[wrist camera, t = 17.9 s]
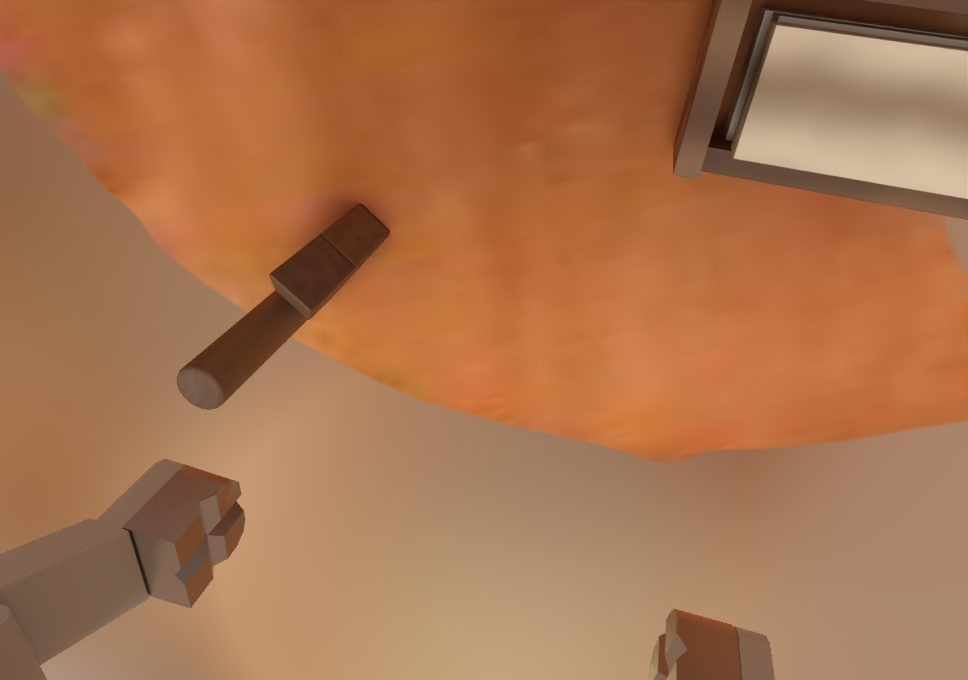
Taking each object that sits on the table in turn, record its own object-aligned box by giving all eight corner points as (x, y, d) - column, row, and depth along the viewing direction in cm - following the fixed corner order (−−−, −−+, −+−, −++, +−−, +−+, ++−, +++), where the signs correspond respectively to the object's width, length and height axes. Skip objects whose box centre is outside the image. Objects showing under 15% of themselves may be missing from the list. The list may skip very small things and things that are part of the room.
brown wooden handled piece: (392, 232, 53) (281, 340, 38) (326, 303, 59) (207, 422, 44) (359, 201, 52) (234, 298, 38) (296, 276, 58) (165, 387, 43)
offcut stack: (928, 164, 40) (973, 202, 34) (723, 130, 43) (730, 160, 36) (991, 37, 36) (1055, 55, 30) (761, 7, 38) (777, 17, 32)
